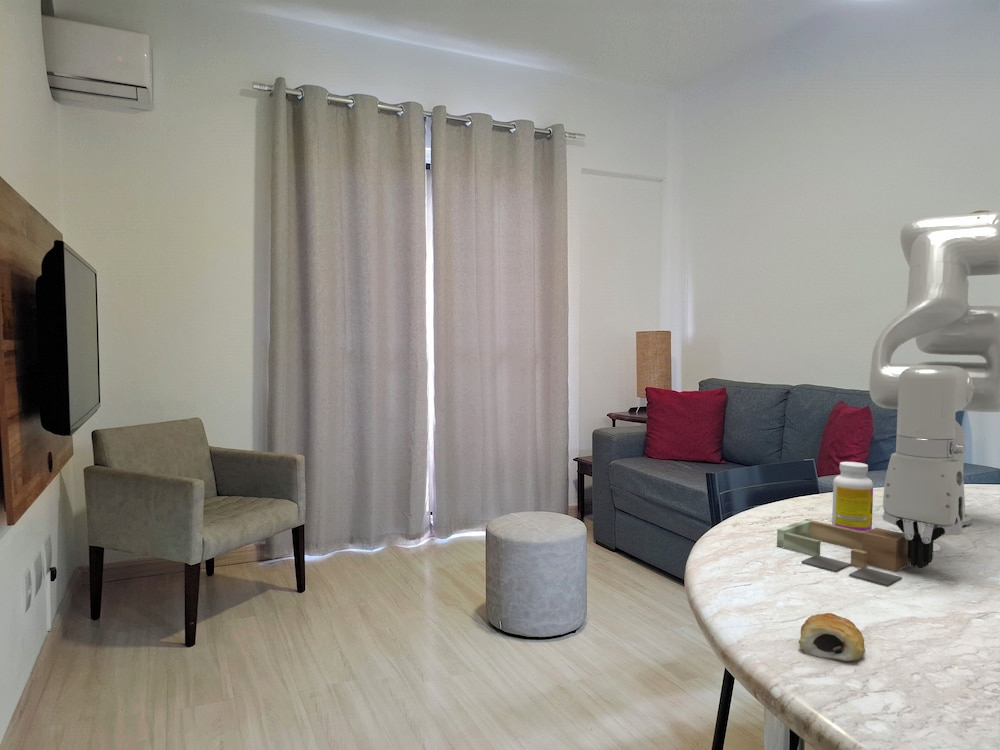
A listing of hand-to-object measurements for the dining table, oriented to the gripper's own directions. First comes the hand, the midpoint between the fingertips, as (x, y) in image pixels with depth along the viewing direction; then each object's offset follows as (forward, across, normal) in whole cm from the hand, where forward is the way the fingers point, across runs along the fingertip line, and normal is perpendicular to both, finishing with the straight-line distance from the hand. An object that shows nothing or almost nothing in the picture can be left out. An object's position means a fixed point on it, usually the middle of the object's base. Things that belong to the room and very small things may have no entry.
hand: (919, 565), depth 104 cm
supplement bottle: (+1, +16, -15) cm, 22 cm away
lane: (+1, +11, +2) cm, 11 cm away
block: (+1, +5, 0) cm, 5 cm away
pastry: (+2, -3, +36) cm, 36 cm away
